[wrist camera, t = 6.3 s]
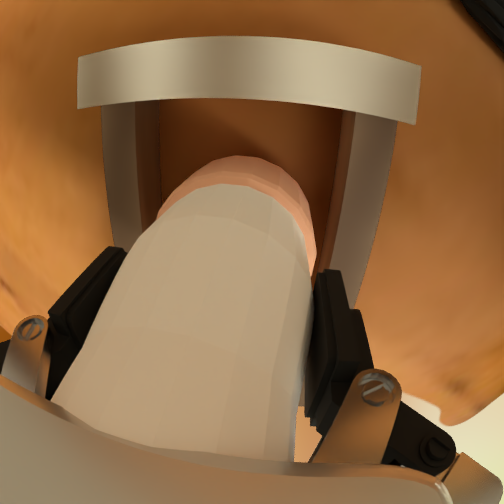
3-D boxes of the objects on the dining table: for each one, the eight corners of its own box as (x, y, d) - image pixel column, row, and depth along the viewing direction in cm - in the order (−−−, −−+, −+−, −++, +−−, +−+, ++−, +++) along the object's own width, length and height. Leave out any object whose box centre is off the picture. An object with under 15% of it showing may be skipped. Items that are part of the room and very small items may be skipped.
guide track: (382, 73, 12) (421, 66, 8) (313, 379, 24) (315, 426, 20) (130, 62, 13) (78, 57, 9) (161, 359, 25) (143, 402, 21)
